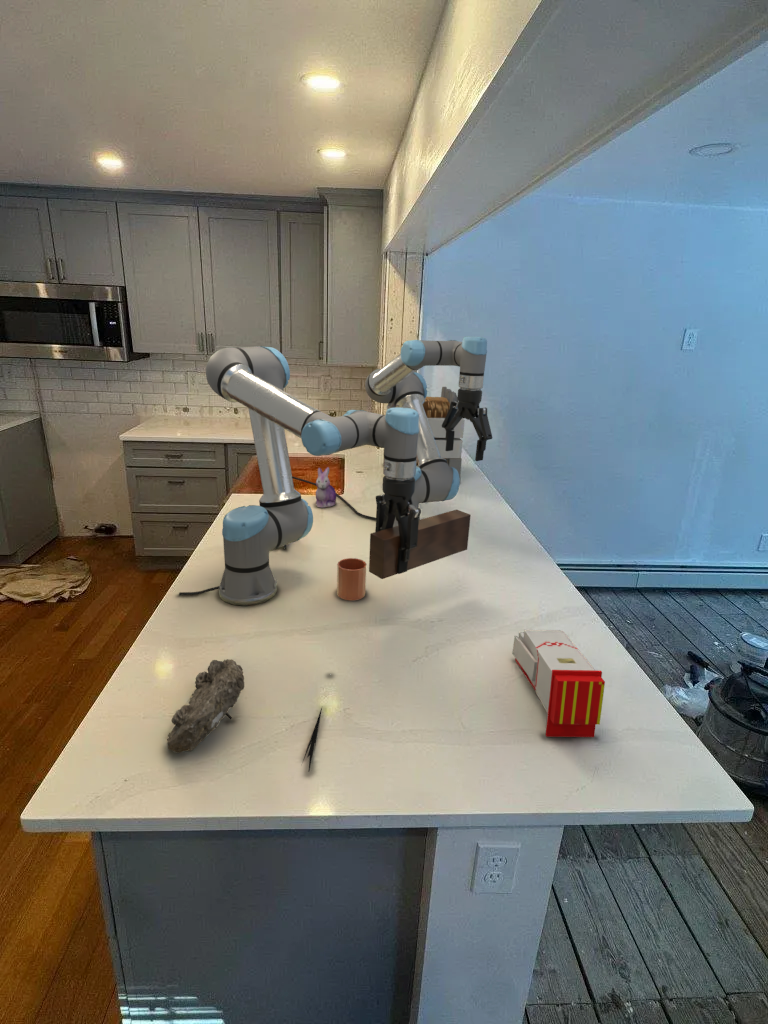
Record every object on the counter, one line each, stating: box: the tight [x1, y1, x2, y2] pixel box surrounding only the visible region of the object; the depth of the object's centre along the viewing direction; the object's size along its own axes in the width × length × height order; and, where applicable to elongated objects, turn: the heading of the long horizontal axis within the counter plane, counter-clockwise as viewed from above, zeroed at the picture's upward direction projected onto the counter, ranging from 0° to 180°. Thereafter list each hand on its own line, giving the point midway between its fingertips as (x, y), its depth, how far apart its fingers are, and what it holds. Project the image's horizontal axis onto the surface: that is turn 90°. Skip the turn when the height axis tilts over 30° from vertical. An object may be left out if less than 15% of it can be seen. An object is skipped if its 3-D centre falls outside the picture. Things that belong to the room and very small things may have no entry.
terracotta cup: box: [336, 557, 368, 601], centre depth 155 cm, size 8×8×9 cm
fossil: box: [166, 658, 245, 754], centre depth 106 cm, size 22×10×15 cm
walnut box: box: [368, 509, 472, 580], centre depth 142 cm, size 30×5×10 cm, turn 131°
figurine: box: [315, 466, 337, 509], centre depth 223 cm, size 9×10×15 cm
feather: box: [301, 673, 332, 771], centre depth 108 cm, size 2×28×2 cm
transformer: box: [383, 386, 465, 479], centre depth 268 cm, size 34×33×41 cm
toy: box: [511, 629, 606, 738], centre depth 118 cm, size 12×13×30 cm
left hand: (394, 567), depth 138 cm, fingers closed on walnut box, 5 cm apart
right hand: (463, 455), depth 183 cm, fingers open, 13 cm apart
